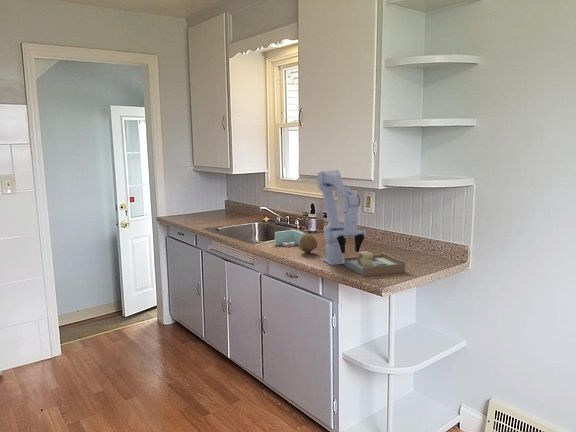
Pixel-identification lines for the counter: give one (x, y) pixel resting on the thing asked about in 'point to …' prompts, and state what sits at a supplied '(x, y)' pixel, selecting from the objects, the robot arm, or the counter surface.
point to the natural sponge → (308, 243)
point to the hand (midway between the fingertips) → (350, 252)
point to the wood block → (365, 258)
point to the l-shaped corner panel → (288, 238)
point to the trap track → (376, 265)
